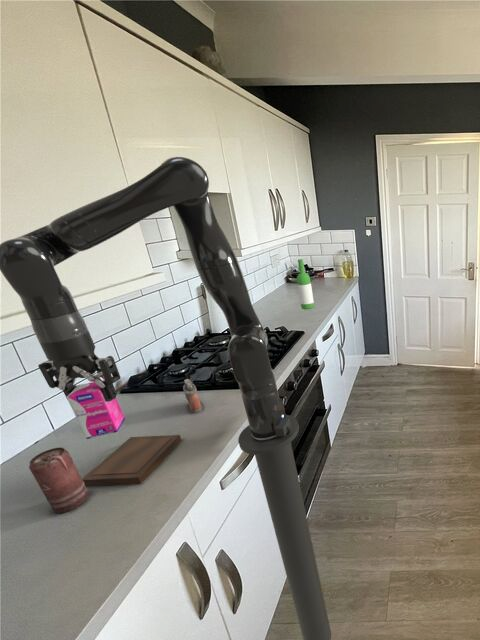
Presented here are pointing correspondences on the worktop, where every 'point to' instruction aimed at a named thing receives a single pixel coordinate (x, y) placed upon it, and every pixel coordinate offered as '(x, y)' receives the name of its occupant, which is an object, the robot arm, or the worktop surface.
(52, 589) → the worktop surface
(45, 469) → the can
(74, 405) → the supplement box
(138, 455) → the board
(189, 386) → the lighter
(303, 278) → the wine bottle
